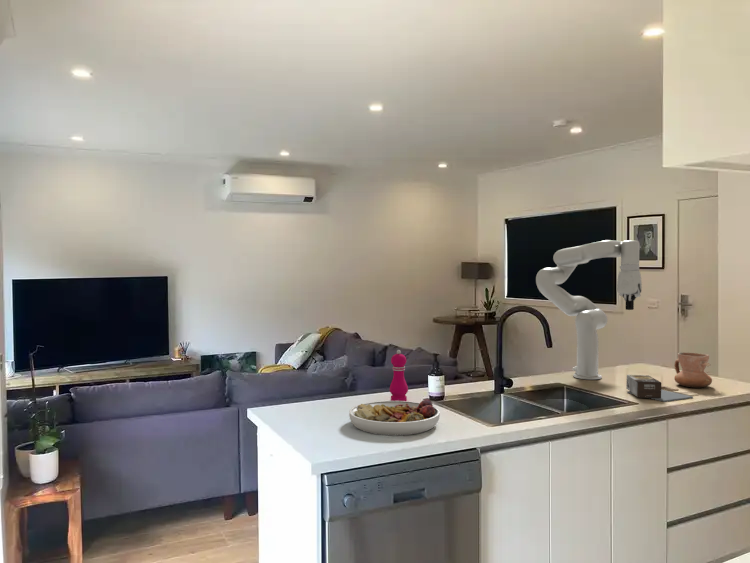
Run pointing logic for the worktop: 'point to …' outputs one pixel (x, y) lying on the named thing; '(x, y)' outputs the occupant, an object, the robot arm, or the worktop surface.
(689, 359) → the ceramic jug
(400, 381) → the pepper mill
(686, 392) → the turner
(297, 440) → the worktop surface
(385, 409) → the bowl
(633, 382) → the coffee box
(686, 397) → the mat
